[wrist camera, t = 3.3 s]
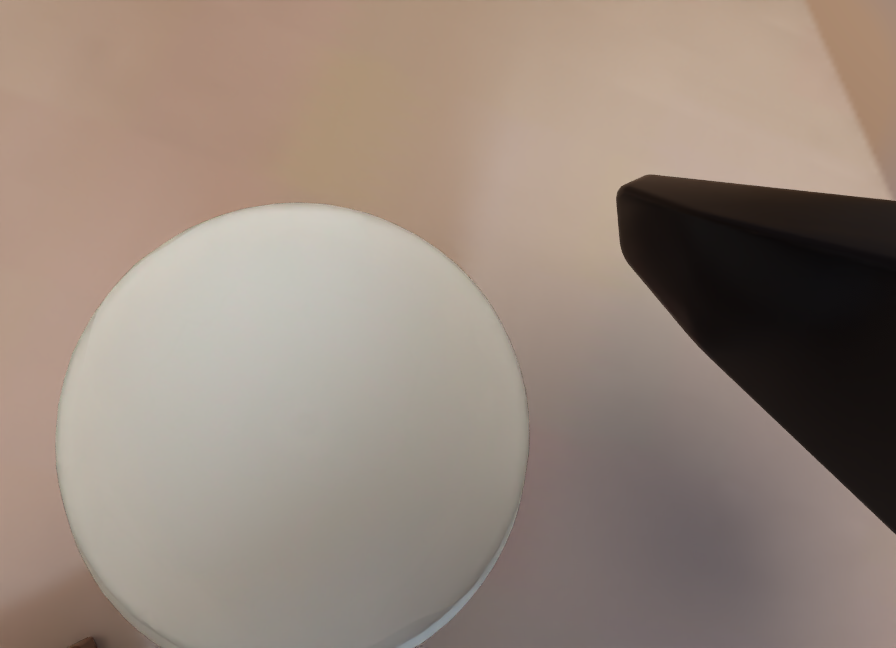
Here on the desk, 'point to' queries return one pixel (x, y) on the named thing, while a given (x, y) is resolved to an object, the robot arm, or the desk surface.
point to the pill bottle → (292, 435)
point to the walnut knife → (85, 643)
